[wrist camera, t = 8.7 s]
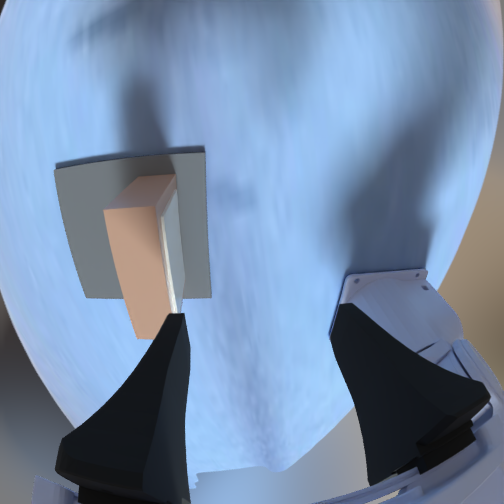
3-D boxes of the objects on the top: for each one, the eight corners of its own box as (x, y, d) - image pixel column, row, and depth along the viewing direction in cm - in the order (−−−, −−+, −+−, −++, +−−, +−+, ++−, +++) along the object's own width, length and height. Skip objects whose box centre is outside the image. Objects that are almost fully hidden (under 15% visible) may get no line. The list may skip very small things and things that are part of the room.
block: (178, 173, 16) (158, 205, 11) (187, 280, 20) (179, 339, 15) (138, 176, 16) (103, 210, 11) (153, 281, 20) (137, 338, 15)
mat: (205, 151, 16) (205, 152, 16) (211, 294, 21) (211, 297, 21) (56, 168, 15) (53, 170, 15) (87, 295, 20) (86, 298, 20)
